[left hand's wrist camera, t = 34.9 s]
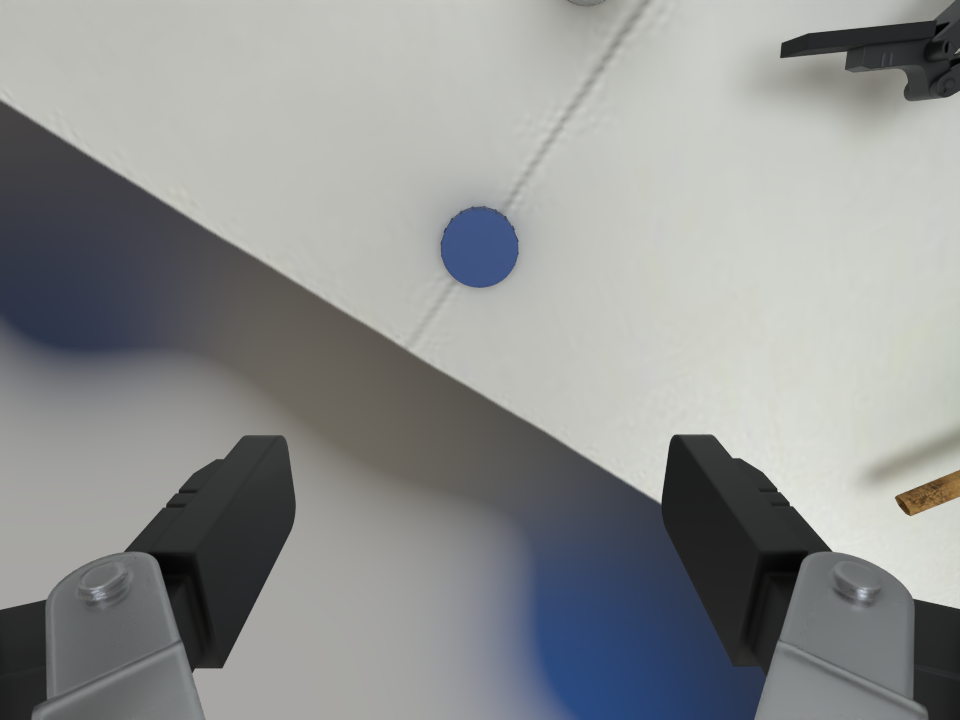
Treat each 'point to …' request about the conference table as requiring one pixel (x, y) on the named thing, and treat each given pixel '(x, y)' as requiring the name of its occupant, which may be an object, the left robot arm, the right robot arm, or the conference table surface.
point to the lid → (479, 247)
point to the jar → (586, 2)
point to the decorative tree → (930, 494)
